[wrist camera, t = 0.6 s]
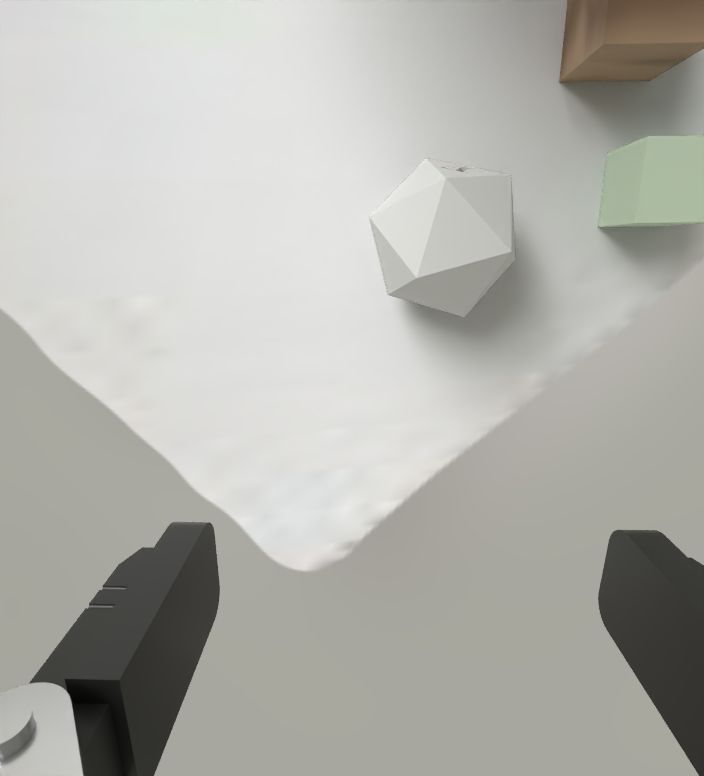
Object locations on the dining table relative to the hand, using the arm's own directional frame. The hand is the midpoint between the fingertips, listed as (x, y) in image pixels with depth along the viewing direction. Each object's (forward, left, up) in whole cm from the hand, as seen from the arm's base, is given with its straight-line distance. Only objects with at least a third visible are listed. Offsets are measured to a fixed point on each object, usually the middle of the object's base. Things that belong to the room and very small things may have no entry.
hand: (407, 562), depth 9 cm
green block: (-10, +17, -25) cm, 32 cm away
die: (-7, +4, -25) cm, 26 cm away
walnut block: (-19, +14, -25) cm, 34 cm away
